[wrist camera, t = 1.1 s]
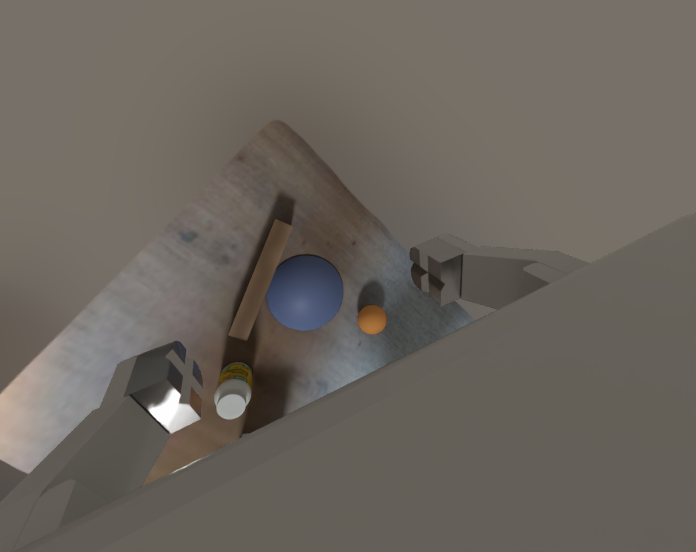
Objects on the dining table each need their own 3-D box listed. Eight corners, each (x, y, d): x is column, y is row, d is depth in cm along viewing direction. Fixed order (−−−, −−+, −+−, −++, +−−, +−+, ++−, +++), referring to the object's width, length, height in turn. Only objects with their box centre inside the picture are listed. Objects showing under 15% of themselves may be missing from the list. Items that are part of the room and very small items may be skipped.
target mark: (354, 272, 53) (354, 272, 53) (326, 339, 53) (326, 339, 53) (284, 243, 49) (284, 243, 49) (254, 316, 49) (254, 317, 49)
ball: (383, 307, 56) (396, 314, 51) (373, 332, 56) (384, 342, 51) (360, 298, 54) (370, 304, 49) (349, 324, 54) (358, 333, 49)
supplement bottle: (219, 390, 49) (209, 425, 40) (221, 361, 48) (211, 390, 39) (251, 388, 51) (249, 422, 42) (253, 360, 50) (251, 388, 41)
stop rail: (290, 227, 49) (293, 226, 45) (248, 332, 49) (246, 340, 45) (274, 220, 48) (275, 218, 44) (230, 327, 48) (228, 335, 44)
